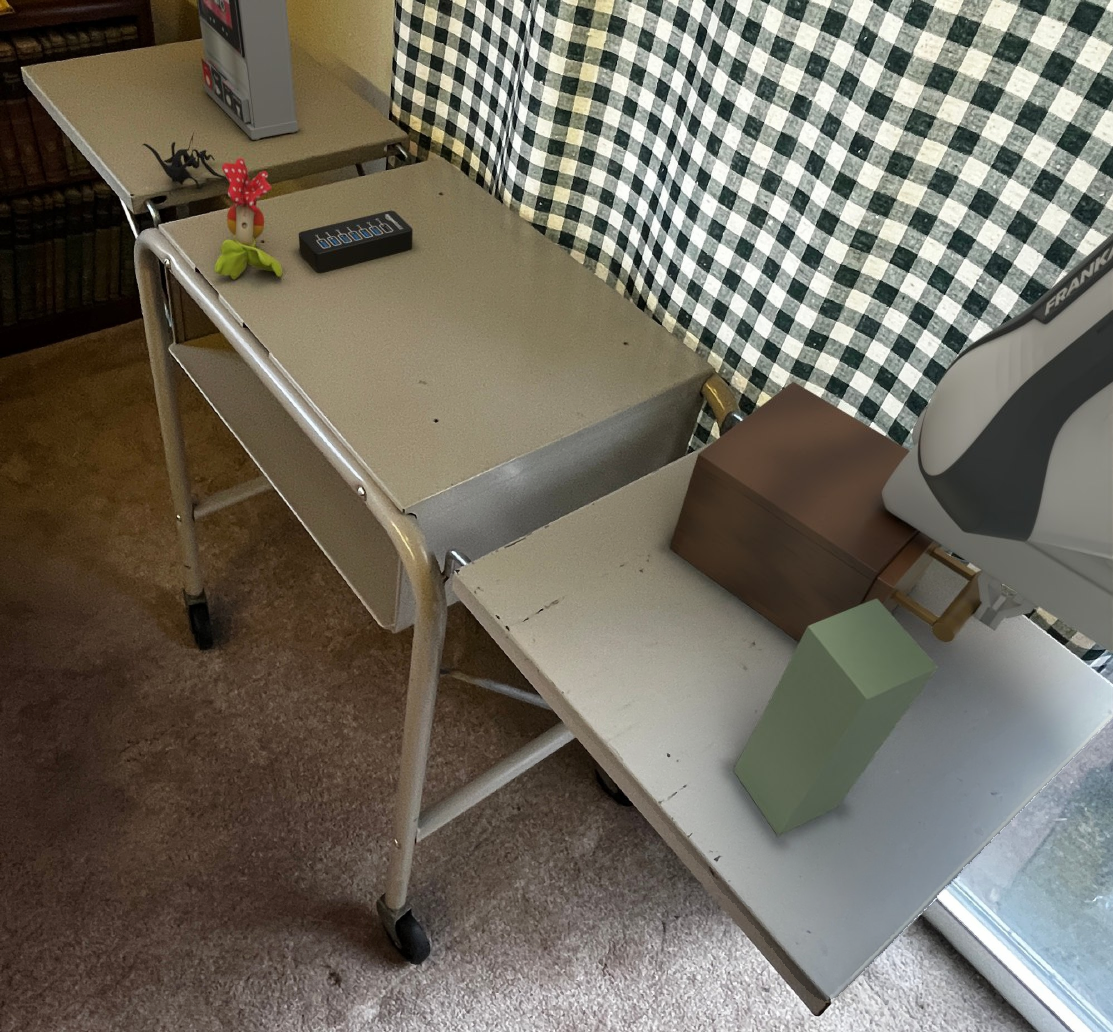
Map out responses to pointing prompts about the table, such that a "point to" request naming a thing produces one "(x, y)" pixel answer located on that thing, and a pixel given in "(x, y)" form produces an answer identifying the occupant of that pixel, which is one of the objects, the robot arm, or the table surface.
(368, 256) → the multiport hub
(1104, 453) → the robot arm
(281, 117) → the cassette tape recorder
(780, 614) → the cabinet
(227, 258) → the multicoloured upright piece
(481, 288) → the table surface
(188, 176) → the creature
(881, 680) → the green rectangular block
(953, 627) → the drawer
